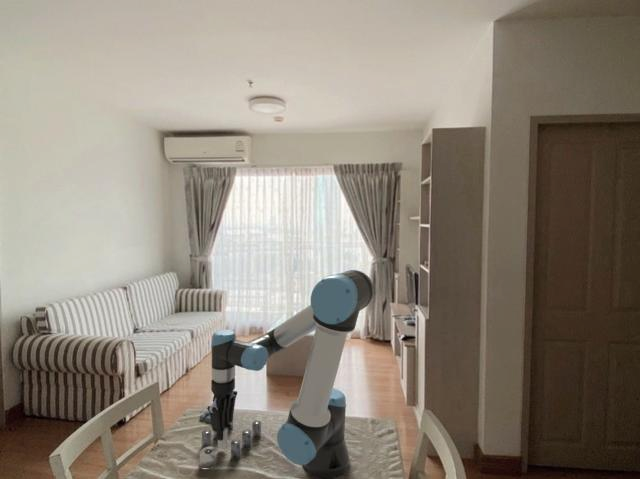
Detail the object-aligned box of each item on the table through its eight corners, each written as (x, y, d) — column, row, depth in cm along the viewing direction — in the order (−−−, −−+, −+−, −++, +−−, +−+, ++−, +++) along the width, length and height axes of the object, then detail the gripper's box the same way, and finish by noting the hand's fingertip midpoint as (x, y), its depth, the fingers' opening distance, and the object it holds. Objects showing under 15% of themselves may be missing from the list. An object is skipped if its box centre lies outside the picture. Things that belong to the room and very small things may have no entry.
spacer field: (262, 435, 125) (262, 421, 125) (236, 461, 112) (236, 446, 111) (228, 424, 131) (228, 411, 131) (199, 447, 118) (199, 433, 117)
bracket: (221, 427, 130) (221, 422, 130) (199, 420, 134) (199, 415, 134) (228, 422, 134) (228, 417, 134) (206, 415, 137) (206, 410, 137)
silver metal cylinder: (219, 460, 112) (219, 448, 112) (209, 471, 107) (209, 458, 107) (206, 456, 114) (206, 444, 113) (196, 466, 109) (196, 454, 109)
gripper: (226, 368, 122) (225, 433, 124) (200, 384, 110) (199, 456, 112) (244, 372, 120) (243, 439, 121) (220, 389, 108) (219, 462, 109)
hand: (222, 447), depth 116 cm, fingers closed
